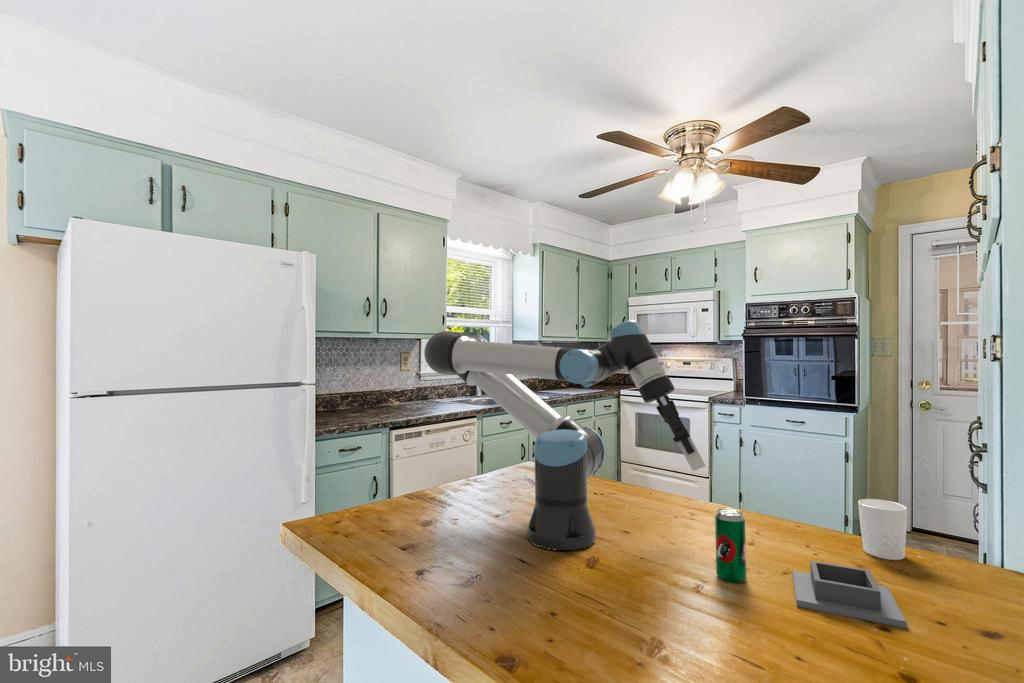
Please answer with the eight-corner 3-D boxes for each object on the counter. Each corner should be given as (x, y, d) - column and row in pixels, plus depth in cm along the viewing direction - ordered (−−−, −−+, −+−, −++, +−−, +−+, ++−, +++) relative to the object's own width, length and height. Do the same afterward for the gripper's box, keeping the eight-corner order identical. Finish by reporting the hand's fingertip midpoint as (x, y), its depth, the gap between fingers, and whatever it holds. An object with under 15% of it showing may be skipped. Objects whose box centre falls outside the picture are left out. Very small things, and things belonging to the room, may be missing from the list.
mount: (796, 606, 77) (796, 581, 77) (792, 576, 88) (792, 554, 88) (906, 628, 71) (905, 600, 71) (887, 593, 81) (887, 569, 81)
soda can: (750, 585, 84) (748, 517, 85) (719, 583, 85) (718, 515, 86) (742, 573, 89) (740, 508, 89) (713, 570, 90) (712, 506, 90)
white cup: (898, 548, 100) (896, 500, 100) (916, 564, 92) (914, 512, 93) (854, 544, 102) (852, 497, 103) (868, 558, 95) (866, 508, 95)
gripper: (665, 365, 99) (719, 461, 92) (668, 382, 122) (711, 460, 115) (632, 380, 101) (682, 477, 93) (641, 394, 124) (681, 473, 116)
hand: (698, 468), depth 104 cm, fingers open, 13 cm apart
